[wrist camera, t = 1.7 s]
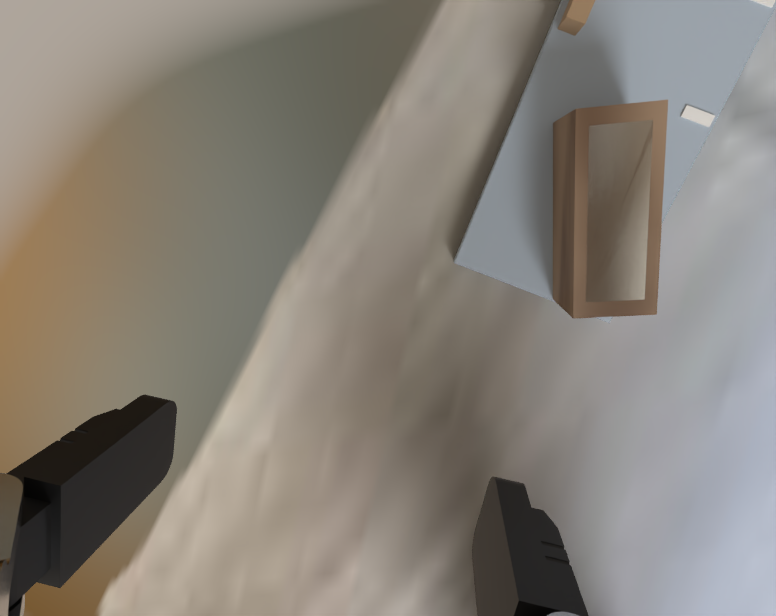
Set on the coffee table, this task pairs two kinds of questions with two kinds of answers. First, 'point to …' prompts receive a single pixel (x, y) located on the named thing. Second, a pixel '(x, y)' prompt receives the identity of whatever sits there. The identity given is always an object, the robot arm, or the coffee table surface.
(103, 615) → the coffee table surface
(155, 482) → the robot arm
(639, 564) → the coffee table surface
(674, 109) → the wall panel
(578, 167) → the walnut frame
